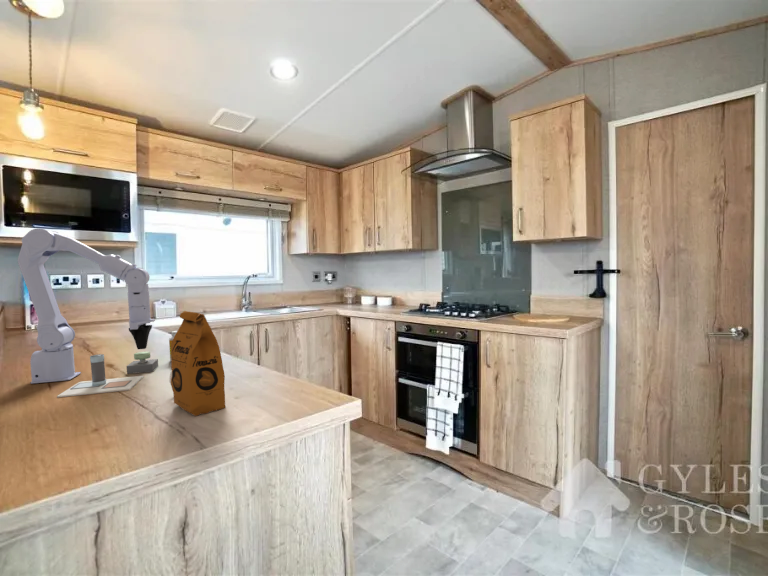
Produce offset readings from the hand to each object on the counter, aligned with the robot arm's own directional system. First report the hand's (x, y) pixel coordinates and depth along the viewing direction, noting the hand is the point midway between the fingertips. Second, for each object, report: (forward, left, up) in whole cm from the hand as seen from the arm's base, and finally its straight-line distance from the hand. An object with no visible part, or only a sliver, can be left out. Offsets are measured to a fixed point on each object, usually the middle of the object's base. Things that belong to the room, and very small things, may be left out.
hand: (142, 348), depth 124 cm
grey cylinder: (-7, -15, -6) cm, 18 cm away
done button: (0, 0, -6) cm, 6 cm away
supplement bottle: (+8, +10, -7) cm, 15 cm away
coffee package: (+22, -44, -7) cm, 49 cm away
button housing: (0, 0, -7) cm, 7 cm away
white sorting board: (-6, -16, -7) cm, 18 cm away
